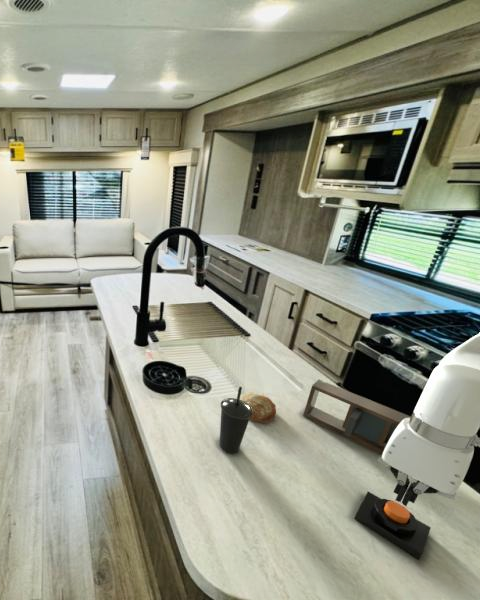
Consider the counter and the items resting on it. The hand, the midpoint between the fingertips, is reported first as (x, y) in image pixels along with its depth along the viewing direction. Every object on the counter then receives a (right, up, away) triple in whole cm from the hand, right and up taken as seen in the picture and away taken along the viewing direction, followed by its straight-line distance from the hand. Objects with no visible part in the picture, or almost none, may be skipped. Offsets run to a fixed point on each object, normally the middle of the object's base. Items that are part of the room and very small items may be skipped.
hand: (402, 499), depth 63 cm
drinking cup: (-24, -1, +24) cm, 34 cm away
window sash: (+11, +2, +22) cm, 25 cm away
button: (0, -4, +2) cm, 5 cm away
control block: (0, -8, +3) cm, 8 cm away
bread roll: (-9, +5, +36) cm, 37 cm away
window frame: (+12, +2, +27) cm, 30 cm away
